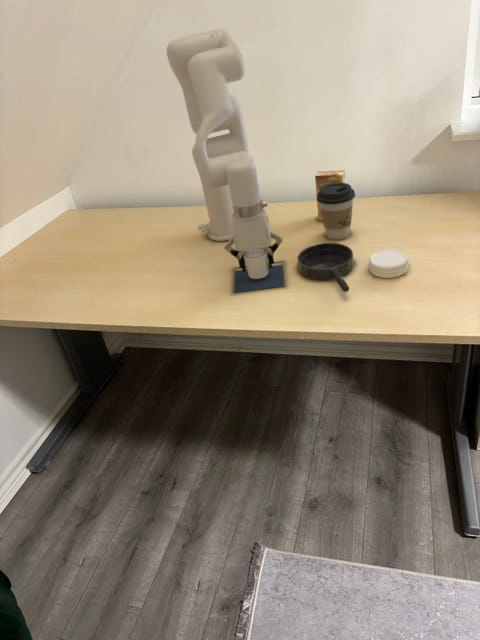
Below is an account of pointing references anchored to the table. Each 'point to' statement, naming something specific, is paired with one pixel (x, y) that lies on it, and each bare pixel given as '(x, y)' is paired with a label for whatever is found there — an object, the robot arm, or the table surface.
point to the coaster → (388, 263)
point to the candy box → (327, 182)
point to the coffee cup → (336, 209)
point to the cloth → (269, 281)
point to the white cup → (256, 263)
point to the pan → (325, 260)
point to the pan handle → (339, 279)
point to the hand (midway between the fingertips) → (257, 267)
